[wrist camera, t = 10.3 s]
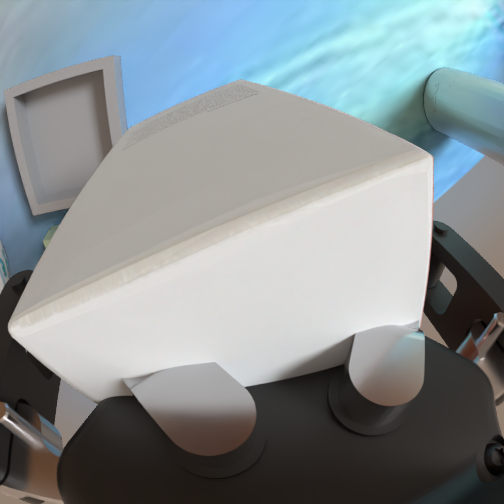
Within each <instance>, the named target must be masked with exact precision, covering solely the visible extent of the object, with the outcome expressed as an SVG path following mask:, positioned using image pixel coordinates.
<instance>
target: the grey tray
mask: <svg viewBox="0 0 504 504" xmlns="http://www.w3.org/2000/svg"><path fill="white" fill-rule="evenodd" d="M4 95H5V103H6V109H7V116H8V121H9V127H10V132H11V137H12V142H13V146H14V151H15V155H16V159H17V163H18V167H19V171H20V174H21V178H22V181H23V185H24V188H25V192H26V195H27V198H28V201H29V204H30V207H31V210H32V213H33V216H35V215H39V214H44V213H48V212H53V211H57V210H62V209H67V208H70V207H71V205H72V204H73V202H74V201H75V199H76V198H77V196H78V195H79V193H80V192H81V190H82V189H83V188H84V186H85V185H86V183H87V182H88V180H89V179H90V178H91V176H92V175H93V174H94V172H95V171H96V169H97V168H98V167H99V165H100V164H101V162H102V161H103V160H104V158H105V157H106V156H107V154H108V153H109V152H110V150H111V149H112V148H113V146H114V145H115V144H116V143H117V142H118V140H119V139H120V138H121V137H122V136H123V134H124V133H125V132H126V131H127V130H128V128H127V120H126V112H125V103H124V94H123V83H122V71H121V57H120V56H115V55H113V56H108V57H104V58H100V59H95V60H92V61H88V62H84V63H80V64H77V65H73V66H70V67H67V68H63V69H60V70H57V71H54V72H51V73H48V74H45V75H42V76H40V77H37V78H34V79H31V80H29V81H26V82H24V83H21V84H19V85H16V86H14V87H12V88H9V89H7V90H5V91H4Z"/></svg>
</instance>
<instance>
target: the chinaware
mask: <svg viewBox="0 0 504 504" xmlns="http://www.w3.org/2000/svg"><path fill="white" fill-rule="evenodd" d="M9 279H10V276H9V265H8V260H7V255H6V252H5V249H4V246H3V244H2V242H1V239H0V293H1V291H2V290H3V288H4V286H5V284H6V283H7V281H8V280H9Z"/></svg>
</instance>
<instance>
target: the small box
mask: <svg viewBox="0 0 504 504" xmlns="http://www.w3.org/2000/svg"><path fill="white" fill-rule="evenodd" d="M433 171H434V157H433V156H432V155H431V154H429V153H428V152H426V151H425V150H423V149H421V148H420V147H418V146H416V145H414V144H412V143H410V142H408V141H406V140H404V139H402V138H400V137H398V136H396V135H394V134H391V133H389V132H387V131H385V130H383V129H381V128H379V127H376V126H374V125H372V124H370V123H368V122H365V121H363V120H361V119H358V118H356V117H354V116H351V115H349V114H346V113H344V112H342V111H339V110H336V109H334V108H331V107H329V106H326V105H323V104H320V103H317V102H314V101H312V100H308V99H306V98H303V97H300V96H297V95H294V94H291V93H288V92H284V91H281V90H278V89H275V88H271V87H268V86H265V85H261V84H257V83H253V82H249V81H246V80H241V79H240V80H237V81H234V82H231V83H229V84H226V85H223V86H221V87H218V88H216V89H213V90H210V91H208V92H205V93H203V94H201V95H198V96H196V97H193V98H191V99H189V100H186V101H184V102H182V103H180V104H177V105H175V106H173V107H171V108H169V109H166V110H164V111H162V112H160V113H158V114H156V115H154V116H152V117H150V118H148V119H146V120H144V121H142V122H140V123H138V124H136V125H134V126H132V127H130V128H129V129H128V130H127V131H126V132H125V133H124V134H123V136H122V137H121V138H120V139H119V140H118V142H117V143H116V144H115V145H114V146H113V148H112V149H111V150H110V152H109V153H108V154H107V156H106V157H105V158H104V160H103V161H102V162H101V164H100V165H99V167H98V168H97V169H96V171H95V172H94V174H93V175H92V176H91V178H90V179H89V180H88V182H87V183H86V185H85V186H84V188H83V189H82V190H81V192H80V193H79V195H78V196H77V198H76V199H75V201H74V202H73V204H72V205H71V207H70V209H69V210H68V212H67V213H66V215H65V217H64V218H63V220H62V221H61V223H60V225H59V226H58V228H57V230H56V232H55V233H54V235H53V237H52V239H51V240H50V242H49V244H48V246H47V248H46V249H45V251H44V253H43V255H42V257H41V258H40V260H39V262H38V263H37V265H36V267H35V269H34V271H33V273H32V275H31V277H30V279H29V281H28V283H27V285H26V287H25V290H24V292H23V294H22V296H21V298H20V300H19V302H18V304H17V306H16V308H15V310H14V312H13V314H12V316H11V319H10V321H9V323H8V331H9V333H10V335H11V336H12V338H14V339H15V340H16V341H17V342H18V343H20V344H21V345H22V346H23V347H24V348H25V349H26V350H27V351H29V352H30V353H31V354H32V355H33V356H34V357H35V358H36V359H38V360H39V361H40V362H41V363H42V364H43V365H45V366H46V367H47V368H48V369H50V370H51V371H52V372H54V373H55V374H56V375H58V376H59V377H60V378H61V379H63V380H64V381H65V382H67V383H68V384H69V385H71V386H72V387H73V388H75V389H76V390H77V391H79V392H80V393H82V394H83V395H85V396H86V397H88V398H89V399H91V400H92V401H94V402H95V403H97V404H99V403H100V402H101V401H102V400H104V399H106V398H109V397H114V396H133V395H132V393H131V392H130V390H129V389H128V387H127V386H126V384H125V383H124V381H123V380H122V378H136V377H143V376H147V375H150V374H153V373H155V372H158V371H161V370H164V369H168V368H172V367H178V366H183V365H192V364H201V363H210V362H216V363H217V364H218V365H219V366H220V367H222V368H223V369H224V370H225V371H226V372H227V373H228V374H230V375H231V376H232V377H233V378H234V379H235V380H237V381H238V382H239V383H240V384H241V385H243V386H244V387H247V386H252V385H258V384H263V383H269V382H274V381H279V380H284V379H288V378H293V377H297V376H301V375H305V374H309V373H313V372H317V371H321V370H325V369H329V368H332V367H335V366H339V365H342V364H344V363H345V359H346V357H347V354H348V352H349V349H350V347H351V344H352V341H353V339H354V336H355V333H358V332H361V331H365V330H368V329H371V328H375V327H379V326H384V325H407V324H410V323H413V322H415V321H418V320H419V327H420V328H421V322H422V315H423V309H424V302H425V296H426V290H427V283H428V275H429V266H430V255H431V243H432V228H433V200H434V174H433Z"/></svg>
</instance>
